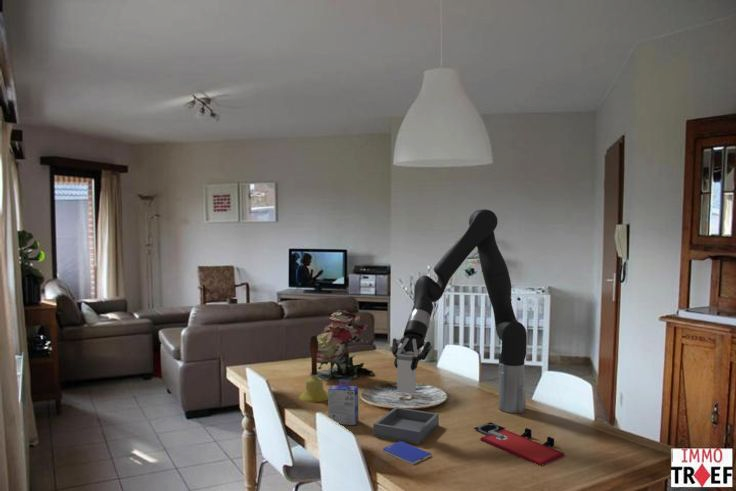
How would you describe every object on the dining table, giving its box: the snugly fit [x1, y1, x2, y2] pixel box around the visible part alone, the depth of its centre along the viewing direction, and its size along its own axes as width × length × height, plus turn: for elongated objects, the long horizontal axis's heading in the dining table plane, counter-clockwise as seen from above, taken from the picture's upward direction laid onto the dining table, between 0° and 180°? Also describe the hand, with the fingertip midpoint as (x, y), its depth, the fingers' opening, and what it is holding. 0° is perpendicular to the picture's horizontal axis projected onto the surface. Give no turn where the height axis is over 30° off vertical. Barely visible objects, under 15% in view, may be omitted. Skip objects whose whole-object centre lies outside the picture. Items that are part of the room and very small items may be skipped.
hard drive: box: [382, 441, 432, 465], centre depth 160 cm, size 2×8×12 cm
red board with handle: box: [473, 421, 565, 466], centre depth 168 cm, size 30×3×15 cm
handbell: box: [298, 334, 328, 403], centre depth 214 cm, size 12×12×25 cm
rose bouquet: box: [309, 309, 375, 383], centre depth 246 cm, size 26×29×30 cm
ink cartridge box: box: [327, 379, 359, 426], centre depth 186 cm, size 10×6×14 cm, turn 78°
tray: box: [372, 406, 440, 446], centre depth 178 cm, size 16×18×4 cm
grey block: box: [396, 353, 417, 394], centre depth 177 cm, size 5×4×12 cm
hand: (404, 367), depth 176 cm, fingers closed on grey block, 5 cm apart
